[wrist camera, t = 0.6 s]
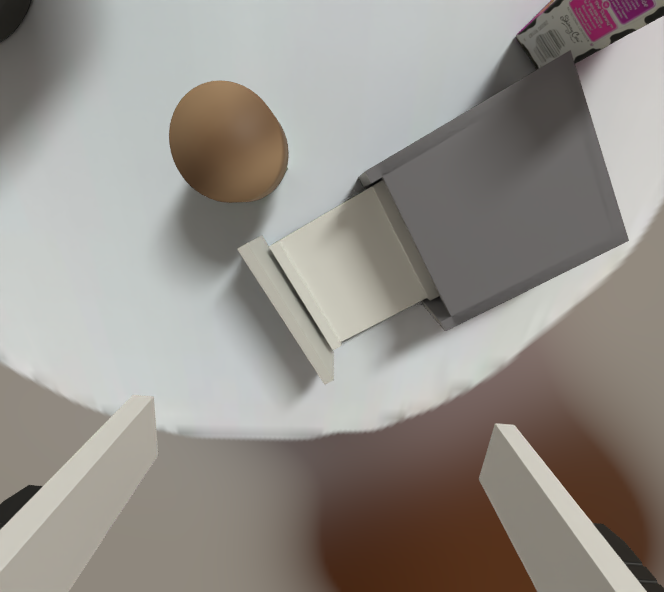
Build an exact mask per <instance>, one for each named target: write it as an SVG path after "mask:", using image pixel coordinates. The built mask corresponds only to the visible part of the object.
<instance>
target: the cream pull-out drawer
mask: <svg viewBox="0 0 664 592" xmlns="http://www.w3.org/2000/svg"><path fill="white" fill-rule="evenodd" d="M237 250H238V251H239V253H240V254H241V256H242V257H243V259H244V260H245V262H246V264H247V265H248V267H249V268H250V270H251V271H252V273H253V274H254V276H255V277H256V279H257V281H258V282H259V284H260V285H261V287H262V288H263V290H264V291H265V293H266V295H267V296H268V298H269V299H270V301H271V302H272V304H273V305H274V307H275V308H276V310H277V312H278V313H279V315H280V316H281V318H282V319H283V321H284V322H285V324H286V326H287V327H288V329H289V330H290V332H291V333H292V335H293V336H294V338H295V339H296V341H297V343H298V344H299V346H300V347H301V349H302V350H303V352H304V353H305V355H306V357H307V358H308V360H309V361H310V363H311V364H312V366H313V367H314V369H315V370H316V372H317V374H318V375H319V377H320V378H321V380H322V381H323V383H324V384H327V383H329V382H331V381H333V380H334V351H333V350H335V349H336V348H338V347H340V346H341V342H342V341H344V340H346V339H348V338H350V337H352V336H354V335H356V334H358V333H360V332H361V331H363V330H365V329H367V328H369V327H371V326H373V325H375V324H377V323H379V322H381V321H383V320H385V319H387V318H389V317H391V316H393V315H395V314H396V313H398V312H400V311H402V310H404V309H406V308H408V307H410V306H412V305H414V304H416V303H418V302H420V301H422V300H424V299H426V298H428V299H429V300H432V299H434V298H436V297H438V296H439V294H438V292H437V290H436V288H435V286H434V284H433V281H432V279H431V277H430V275H429V273H428V271H427V269H426V267H425V265H424V263H423V261H422V259H421V257H420V255H419V253H418V251H417V249H416V247H415V245H414V243H413V241H412V239H411V237H410V235H409V233H408V231H407V229H406V226H405V224H404V222H403V220H402V218H401V216H400V214H399V212H398V210H397V208H396V206H395V204H394V202H393V200H392V198H391V196H390V194H389V192H388V190H387V188H386V186H385V184H384V182H383V180H382V181H380V182H378V183H377V184H375V185H373V186H372V187H370V188H368V189H366V190H365V191H363V192H361V193H360V194H358V195H356V196H354V197H353V198H351V199H349V200H348V201H346V202H344V203H342V204H341V205H339V206H337V207H336V208H334V209H332V210H330V211H329V212H327V213H325V214H324V215H322V216H320V217H318V218H317V219H315V220H313V221H311V222H310V223H308V224H306V225H305V226H303V227H301V228H299V229H298V230H296V231H294V232H293V233H291V234H289V235H287V236H286V237H284V238H282V239H281V240H279V241H277V242H275V243H274V244H272V245H271V246H268V244H267V243H266V241H265V239H264V238H263V236H260V237H258V238H256V239H254V240H252V241H250V242H248V243H246V244H245V245H243V246H241V247H240V248H238V249H237ZM285 273H286V274H285ZM293 286H294V287H293ZM330 346H331V347H330Z"/></svg>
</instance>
